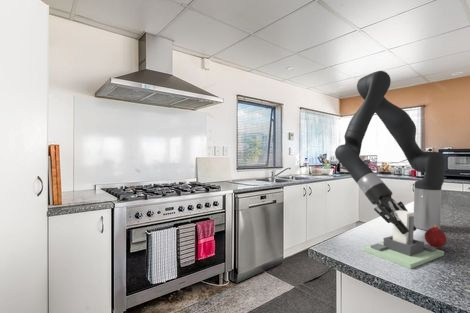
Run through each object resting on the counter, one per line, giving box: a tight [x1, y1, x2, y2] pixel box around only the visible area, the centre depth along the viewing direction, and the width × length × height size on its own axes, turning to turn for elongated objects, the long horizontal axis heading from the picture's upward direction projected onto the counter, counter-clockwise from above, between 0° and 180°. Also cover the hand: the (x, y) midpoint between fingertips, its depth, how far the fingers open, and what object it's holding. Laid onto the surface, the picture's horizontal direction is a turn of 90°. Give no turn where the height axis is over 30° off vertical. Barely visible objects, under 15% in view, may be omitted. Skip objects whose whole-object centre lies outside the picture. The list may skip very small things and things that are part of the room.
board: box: [363, 235, 445, 270], centre depth 79 cm, size 20×14×4 cm
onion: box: [424, 225, 448, 250], centre depth 83 cm, size 6×6×8 cm
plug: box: [392, 210, 414, 245], centre depth 79 cm, size 4×5×10 cm
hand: (409, 231), depth 78 cm, fingers closed on plug, 4 cm apart
